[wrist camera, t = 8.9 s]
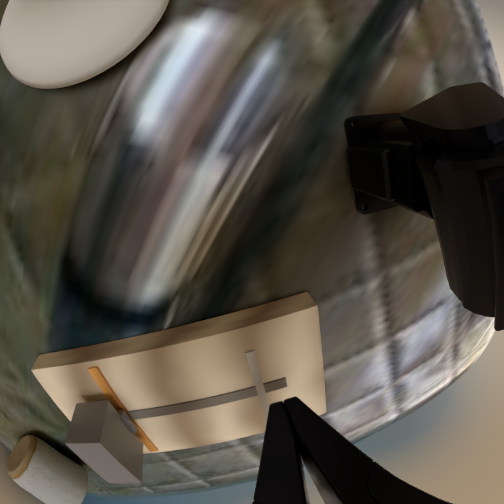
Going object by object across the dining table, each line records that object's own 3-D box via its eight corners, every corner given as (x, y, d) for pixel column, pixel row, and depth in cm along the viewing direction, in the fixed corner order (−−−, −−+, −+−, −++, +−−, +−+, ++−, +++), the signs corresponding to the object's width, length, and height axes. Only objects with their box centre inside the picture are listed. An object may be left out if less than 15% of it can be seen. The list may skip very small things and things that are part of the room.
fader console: (307, 291, 21) (318, 307, 19) (318, 397, 25) (327, 413, 23) (39, 354, 19) (30, 371, 17) (105, 440, 23) (102, 457, 21)
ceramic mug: (37, 424, 21) (19, 478, 14) (93, 462, 24) (85, 515, 17) (6, 439, 22) (-9, 482, 15) (53, 472, 25) (45, 515, 18)
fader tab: (112, 394, 18) (103, 442, 14) (146, 439, 20) (145, 482, 16) (74, 399, 18) (61, 443, 14) (111, 442, 20) (106, 483, 16)
